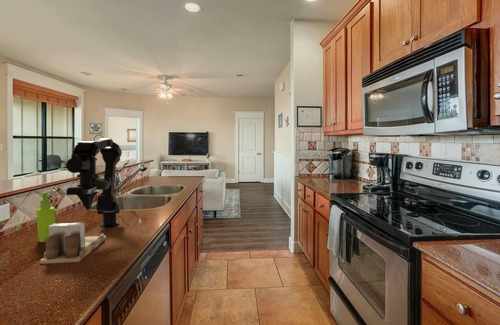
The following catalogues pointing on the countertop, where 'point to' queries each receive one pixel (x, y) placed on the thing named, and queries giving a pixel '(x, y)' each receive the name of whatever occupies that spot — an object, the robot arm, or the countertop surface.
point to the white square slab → (67, 230)
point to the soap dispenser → (45, 216)
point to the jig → (69, 248)
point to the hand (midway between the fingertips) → (88, 209)
